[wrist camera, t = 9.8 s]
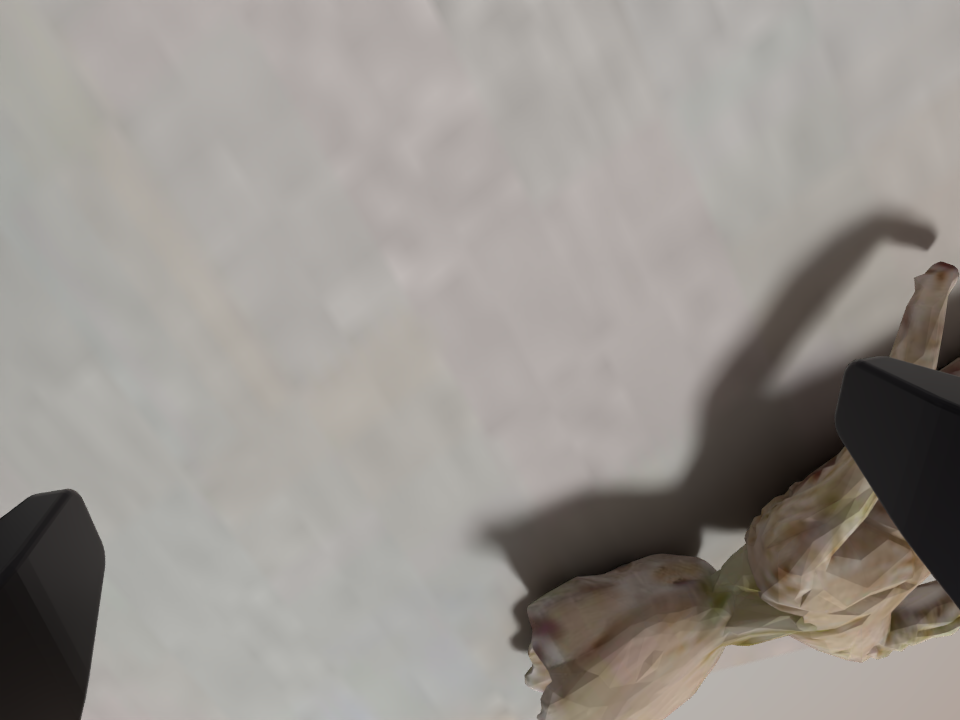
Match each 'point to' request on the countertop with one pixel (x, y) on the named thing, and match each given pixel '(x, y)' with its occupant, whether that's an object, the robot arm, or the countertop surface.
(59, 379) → the countertop surface
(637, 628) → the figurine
